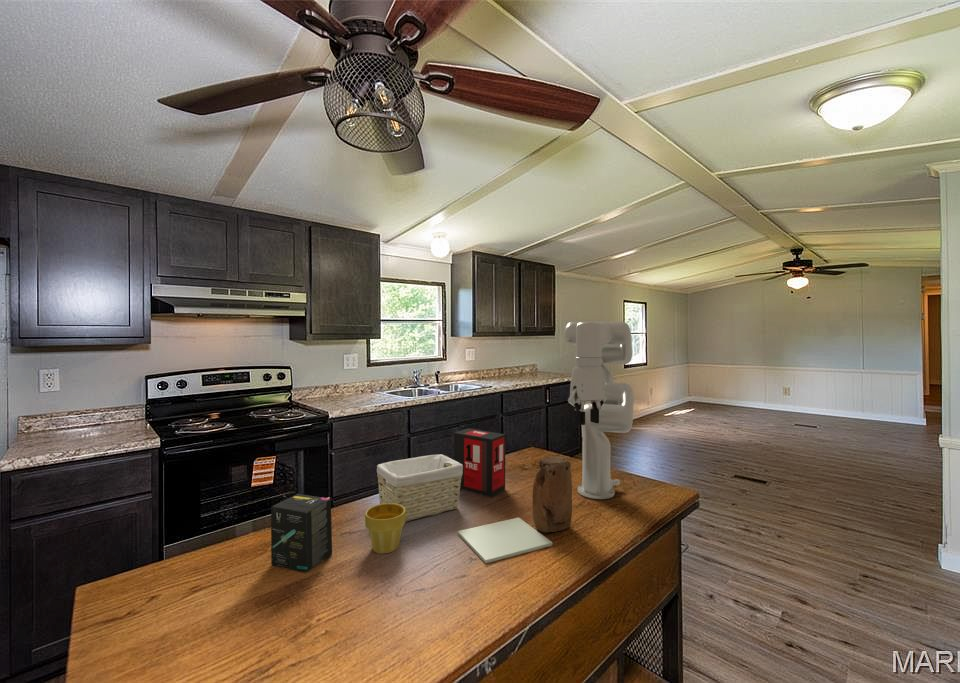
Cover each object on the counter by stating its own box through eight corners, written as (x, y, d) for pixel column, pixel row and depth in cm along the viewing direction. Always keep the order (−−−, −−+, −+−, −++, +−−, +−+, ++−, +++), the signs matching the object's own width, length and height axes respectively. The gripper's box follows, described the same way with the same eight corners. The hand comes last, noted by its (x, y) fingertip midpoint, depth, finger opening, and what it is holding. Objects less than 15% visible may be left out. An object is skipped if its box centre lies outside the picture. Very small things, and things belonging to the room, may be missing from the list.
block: (557, 518, 130) (557, 453, 130) (574, 528, 124) (575, 459, 123) (528, 527, 125) (529, 458, 124) (545, 537, 118) (546, 465, 118)
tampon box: (333, 554, 109) (332, 497, 108) (307, 574, 100) (306, 512, 100) (298, 547, 112) (297, 492, 112) (270, 565, 104) (269, 505, 103)
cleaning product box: (505, 489, 154) (505, 434, 154) (491, 497, 147) (491, 439, 146) (468, 480, 163) (468, 428, 163) (453, 487, 156) (453, 432, 156)
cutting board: (518, 520, 129) (518, 517, 129) (552, 545, 114) (552, 542, 114) (457, 533, 120) (457, 531, 120) (485, 563, 105) (485, 560, 105)
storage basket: (440, 493, 150) (440, 451, 150) (465, 509, 137) (465, 463, 137) (374, 509, 137) (374, 463, 137) (394, 528, 123) (394, 478, 123)
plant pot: (380, 562, 105) (380, 523, 105) (357, 548, 112) (357, 511, 112) (413, 547, 113) (413, 510, 113) (390, 534, 120) (390, 499, 120)
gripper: (601, 361, 136) (600, 418, 137) (557, 363, 129) (557, 423, 129) (618, 363, 129) (617, 423, 130) (574, 364, 122) (573, 428, 122)
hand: (587, 422), depth 129 cm, fingers open, 4 cm apart
